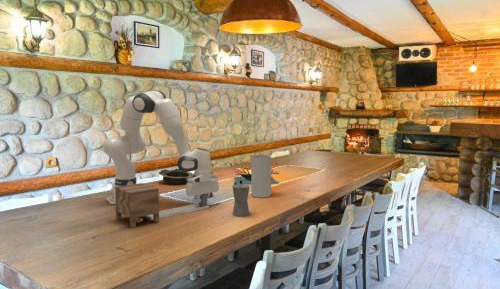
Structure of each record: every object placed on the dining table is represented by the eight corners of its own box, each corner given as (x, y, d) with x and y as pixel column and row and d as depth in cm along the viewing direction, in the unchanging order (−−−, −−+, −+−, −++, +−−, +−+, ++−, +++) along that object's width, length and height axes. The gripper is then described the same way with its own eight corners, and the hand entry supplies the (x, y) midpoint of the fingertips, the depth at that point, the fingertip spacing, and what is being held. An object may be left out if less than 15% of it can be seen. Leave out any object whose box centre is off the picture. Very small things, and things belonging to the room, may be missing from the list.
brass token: (130, 221, 187) (130, 219, 187) (140, 219, 190) (139, 217, 190) (134, 223, 183) (134, 221, 183) (144, 221, 187) (144, 219, 186)
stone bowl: (160, 179, 292) (161, 167, 291) (193, 181, 295) (194, 169, 294) (156, 185, 267) (157, 172, 267) (192, 187, 270) (193, 174, 270)
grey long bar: (201, 205, 217) (201, 193, 216) (209, 207, 211) (209, 195, 210) (143, 216, 193) (143, 203, 192) (150, 220, 187) (150, 206, 187)
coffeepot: (254, 216, 194) (254, 181, 193) (237, 218, 190) (237, 183, 189) (242, 209, 208) (242, 176, 207) (226, 211, 204) (226, 178, 203)
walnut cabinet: (114, 219, 188) (113, 187, 187) (142, 214, 198) (141, 183, 196) (129, 228, 175) (128, 193, 173) (159, 222, 185) (158, 188, 183)
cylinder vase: (260, 199, 231) (260, 158, 228) (247, 195, 240) (247, 156, 238) (275, 196, 239) (275, 156, 237) (261, 192, 248) (261, 154, 246)
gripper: (214, 174, 220) (214, 197, 222) (184, 178, 207) (184, 203, 208) (221, 175, 216) (221, 199, 217) (190, 180, 202) (191, 205, 203)
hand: (203, 201), depth 213 cm, fingers closed on grey long bar, 3 cm apart
